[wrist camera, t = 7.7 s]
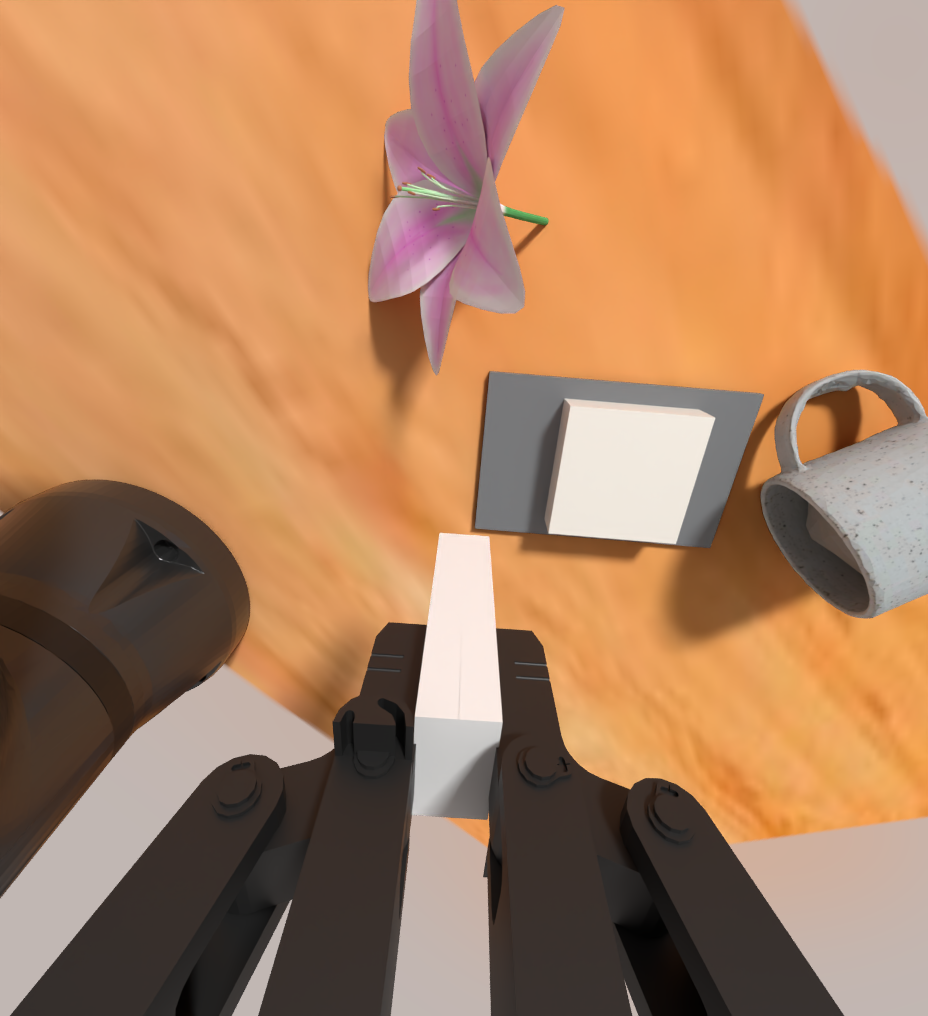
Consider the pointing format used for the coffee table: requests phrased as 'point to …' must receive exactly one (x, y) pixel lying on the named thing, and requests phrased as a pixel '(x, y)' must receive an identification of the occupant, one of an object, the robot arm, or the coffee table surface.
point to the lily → (456, 172)
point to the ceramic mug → (855, 503)
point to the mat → (534, 433)
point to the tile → (625, 470)
